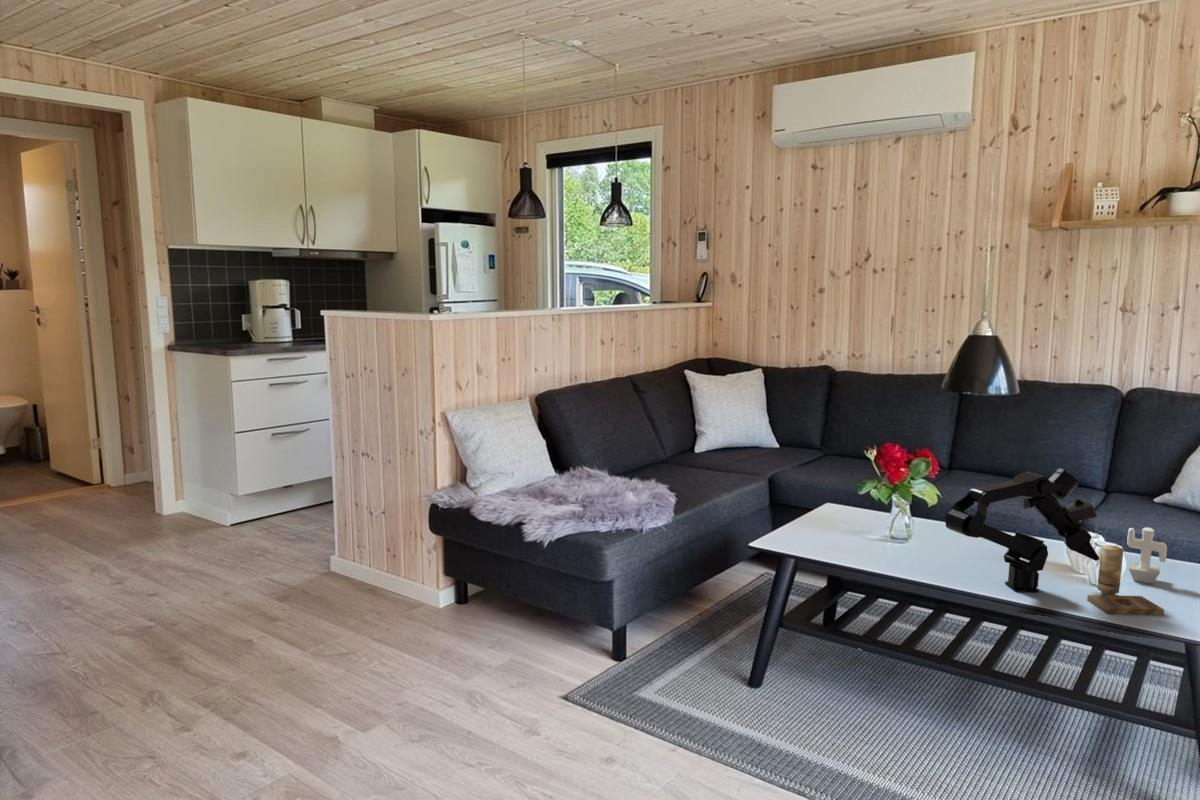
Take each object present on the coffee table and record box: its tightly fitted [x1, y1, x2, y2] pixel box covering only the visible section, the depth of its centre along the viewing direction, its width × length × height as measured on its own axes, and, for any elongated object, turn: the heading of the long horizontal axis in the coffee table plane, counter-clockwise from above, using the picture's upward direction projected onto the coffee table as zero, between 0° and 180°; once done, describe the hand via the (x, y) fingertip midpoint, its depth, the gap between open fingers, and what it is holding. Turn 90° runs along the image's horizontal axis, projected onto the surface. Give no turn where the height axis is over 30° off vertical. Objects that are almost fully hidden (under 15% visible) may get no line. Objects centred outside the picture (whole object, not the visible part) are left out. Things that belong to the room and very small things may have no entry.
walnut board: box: [1087, 594, 1165, 616], centre depth 211 cm, size 14×9×2 cm, turn 89°
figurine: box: [1126, 526, 1168, 585], centre depth 230 cm, size 7×9×15 cm
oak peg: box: [1096, 544, 1124, 596], centre depth 219 cm, size 5×5×13 cm
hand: (1094, 554), depth 220 cm, fingers open, 9 cm apart
